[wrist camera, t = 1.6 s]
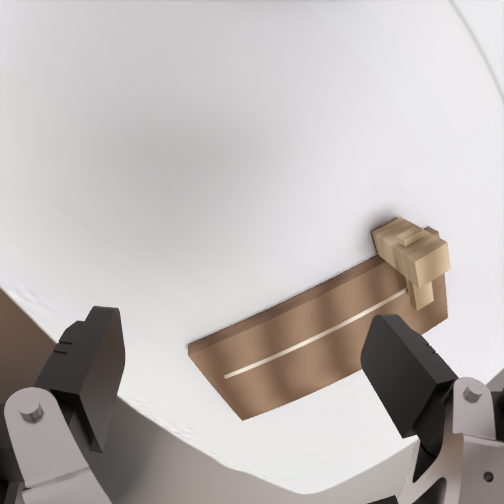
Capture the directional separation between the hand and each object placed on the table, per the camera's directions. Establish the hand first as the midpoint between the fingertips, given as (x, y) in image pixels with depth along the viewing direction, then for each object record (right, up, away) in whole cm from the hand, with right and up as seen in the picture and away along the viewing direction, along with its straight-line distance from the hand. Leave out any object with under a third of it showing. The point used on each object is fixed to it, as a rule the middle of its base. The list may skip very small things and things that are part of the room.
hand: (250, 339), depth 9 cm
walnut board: (+10, -7, +28) cm, 30 cm away
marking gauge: (+16, +2, +25) cm, 30 cm away
